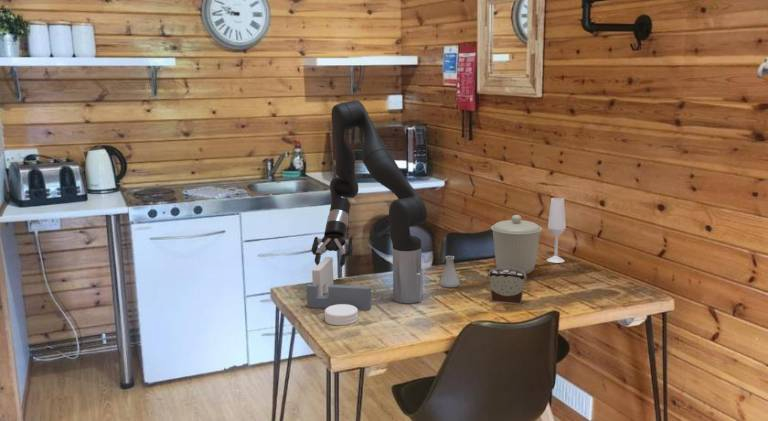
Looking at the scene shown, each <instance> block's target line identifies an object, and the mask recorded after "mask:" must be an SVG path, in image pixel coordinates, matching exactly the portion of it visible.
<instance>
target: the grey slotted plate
mask: <svg viewBox="0 0 768 421" xmlns="http://www.w3.org/2000/svg"><path fill="white" fill-rule="evenodd" d="M371 289H372V288H371V286H369V285H367V286H366V285H350V284H349V285H346V284H345V285H344V284H333V285H330V286H329V287H328V292H327V293H328V295H323V296H318V284H313V283H308V284H307V285H306V304H307V308H314V309H315V308H316V309H326V308H328V307H329V306H332V305H338V304H347V305H352V306H355V307H356V308H357V309H358V311H370V310H371V308H372V297H371V296H372V294H371V293H372V290H371Z"/></svg>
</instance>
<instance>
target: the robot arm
mask: <svg viewBox="0 0 768 421" xmlns="http://www.w3.org/2000/svg"><path fill="white" fill-rule="evenodd" d="M330 114H331V126H332V135H333V140H334V141H333V142H334V148H335V164H334V165H335V168H334V172H335V175H336V177H333V178H332V179H331V181H330V183H329V190H330V191H329V192H330V197H331V198H330V200H331V201H330V208H329V213H328V216H327V220H326V224H325V229H324V234H323V237H322V238H319V237H318V236H315V237H314V238H313V243H312V247H311V249H310V250H311V252H312V255H315V258H314V263H315V265H316V266H317V265H318V264H319V263H320V262H321V257H322V255H323V254H325V253H327V252H338V251H339V252H340V254H341V255H340V259H339V265H340V267H341V268H342V267H344V266H346V265H345V264H346V261H347V258H348V257H352V256H353V250H354V239H353V238H351V237H349V238H348V239H346V235H347V231H348V225H349V216H350V215H349V214H350V209H351V202H350V201H349V200H348V199H347V198H349V199H354V198H355V197H356V196H357V195H358V192H359V182H358V179H357V177H356V171H355V169H356V168H355V167H356V155H355V152H354V149H353V148H352V146H351V145H350V144H349V143H348V141H347V139H346V137H345V133H346V131H348V130H352V129H355V128H358V129H359V130H360V131H361V133H362V138H363V141H362V142H363V143H362V150H361V159H362V163H363V164H364V167H365V168H366V170H367V172H368V173H369V175H370V176H371V177H372V178H373V179H374V180H375V181H376V182H377V183H379V184H380V185H381V186H383V187H385V188H386V189H387V190H389V191H390V192H392V193H393V194H394V195H395V196H396V197H397V199H395V200H393V201H391V203H390V205H389V208H388V222H389V224H388V225H389V236H390V240H391V244H392V297H393V299H392V300H393V301H395V302H396V303H400V304H414V303H421V301H422V299H423V296H424V294H423V293H424V290H423V286H424V284H423V283H424V282H423V280H424V279H423V277H424V276H423V274H424V273H423V272H424V270H423V268H422V239H421V238H420V237H418V236H415V235H411V230H410V227H416V226H419V225H422V224H424V223H425V222H426V220H427V219H428V218H427V217H428V211H427V207H426V204H425V203H424V200H423V199H422V198H421V196H420V195H419V194H418V193H417V191H416V190H415V189H414V187H413V186H412V185H411V184H410V182H409V181H408V179H407V178H406V177H405V175H404V173H403V172H402V170H401V169H400V167H399V165H397V162H396V161H395V159H394V157H393V155H392V154H391V152H390V151H389V149H388V147H387V146H386V144H385V143H384V141H383V140H382V139H381V137H380V135H379V133H378V132H377V129H376V127H375V126H374V124H373V121H372V119H371V117H370V116H369V114H368V111H367V110H366V108H365V106H364V105H363V103H362V102H361V101H360V100H357V99H353V100H349V101H345V102H340V103H338V104H334V106H333V107H332V109H331V113H330ZM321 243H322V244H321ZM345 245H347V250H345V249H344V247H343V246H345ZM318 247H319V248H318Z"/></svg>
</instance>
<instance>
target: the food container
mask: <svg viewBox="0 0 768 421" xmlns="http://www.w3.org/2000/svg"><path fill="white" fill-rule="evenodd" d="M487 278H489V286H490V296H491V302H492V303H503V304H513V305H514V304H515V305H522V302H523V293H524V285H525V281H527V274H525V272H524V271H522V270H520V269H516V268H497V267H496V268H491V269H489V271H488V273H487Z"/></svg>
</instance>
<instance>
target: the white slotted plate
mask: <svg viewBox="0 0 768 421" xmlns="http://www.w3.org/2000/svg"><path fill="white" fill-rule="evenodd" d="M333 259H334V258H333V257H332V256H330V257H329V256H325V257H324V258H323V259H322V260H320V263H319V264H318V265H316V266H315V267H314V268H313V269H312V270H311V274H312V276H311V277H312V284H318V296H324V294H325V295H326V294H328V293H329V292H328V287H329V286H330V285H334V265H333V264H334V263H333V262H334V260H333Z"/></svg>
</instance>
